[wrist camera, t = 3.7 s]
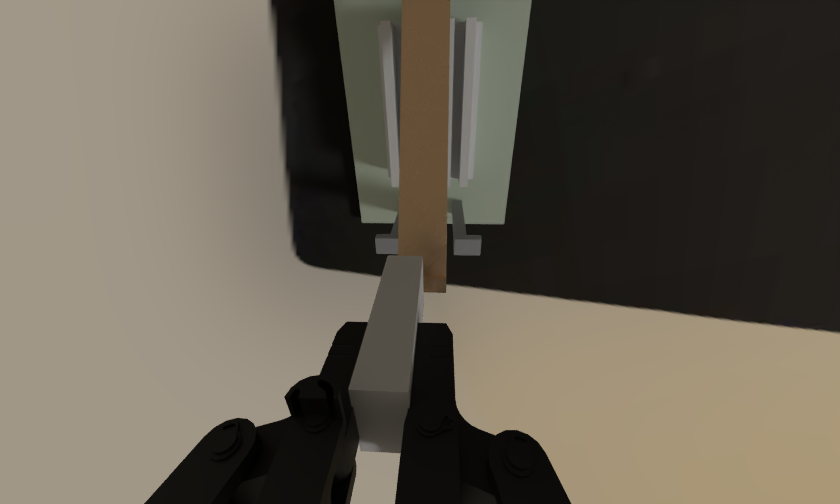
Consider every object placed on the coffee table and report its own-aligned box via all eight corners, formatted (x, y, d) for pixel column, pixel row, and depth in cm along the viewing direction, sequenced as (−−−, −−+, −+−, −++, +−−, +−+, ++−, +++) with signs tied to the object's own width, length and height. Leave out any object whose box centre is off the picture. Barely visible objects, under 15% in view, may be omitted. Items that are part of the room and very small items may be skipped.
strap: (403, -41, 21) (398, -78, 18) (452, -43, 20) (453, -81, 18) (398, 286, 21) (392, 291, 18) (447, 287, 20) (447, 292, 18)
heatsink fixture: (330, -60, 25) (267, -131, 16) (536, -71, 24) (591, -155, 15) (364, 218, 37) (338, 265, 28) (502, 219, 36) (520, 268, 27)
